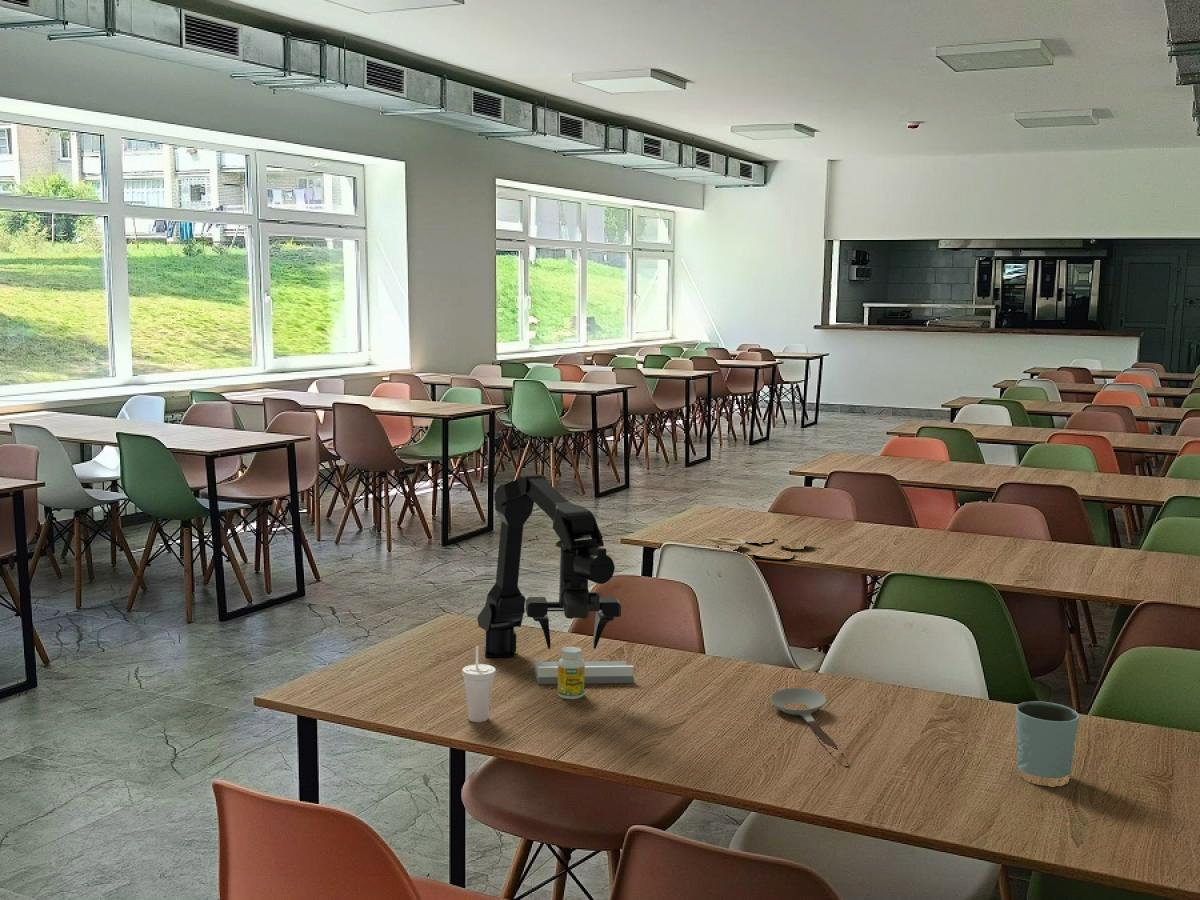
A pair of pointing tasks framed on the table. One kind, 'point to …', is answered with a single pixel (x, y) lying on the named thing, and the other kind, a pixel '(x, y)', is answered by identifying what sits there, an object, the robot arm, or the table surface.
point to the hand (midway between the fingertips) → (571, 648)
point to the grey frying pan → (806, 698)
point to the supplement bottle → (571, 673)
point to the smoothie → (478, 689)
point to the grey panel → (588, 672)
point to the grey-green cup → (1045, 738)
